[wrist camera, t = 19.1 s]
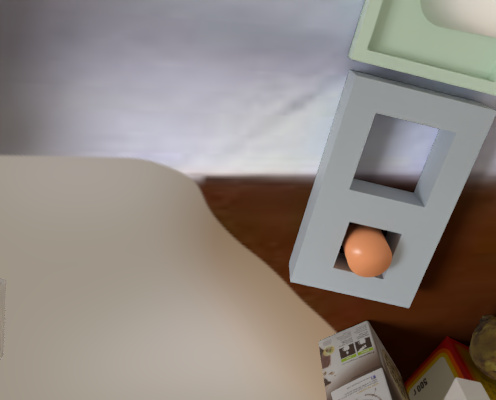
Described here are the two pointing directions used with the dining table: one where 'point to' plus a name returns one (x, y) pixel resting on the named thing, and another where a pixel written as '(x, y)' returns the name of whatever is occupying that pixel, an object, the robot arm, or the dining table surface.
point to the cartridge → (462, 15)
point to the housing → (386, 189)
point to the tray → (423, 46)
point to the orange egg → (366, 250)
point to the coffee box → (359, 367)
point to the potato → (484, 346)
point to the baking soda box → (446, 373)
